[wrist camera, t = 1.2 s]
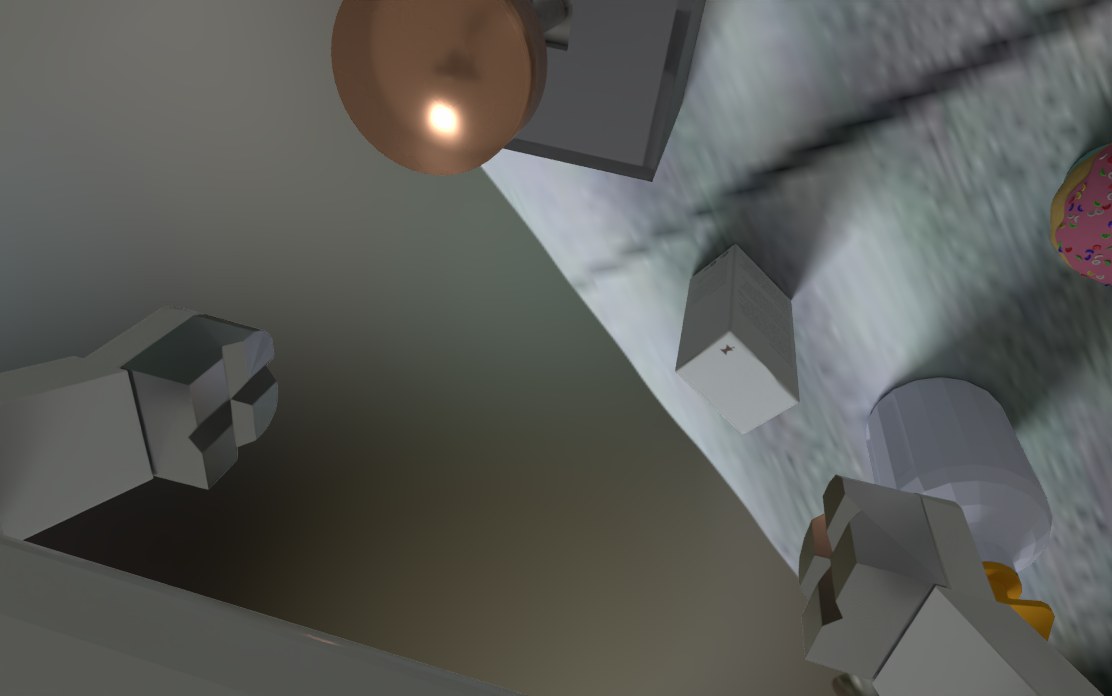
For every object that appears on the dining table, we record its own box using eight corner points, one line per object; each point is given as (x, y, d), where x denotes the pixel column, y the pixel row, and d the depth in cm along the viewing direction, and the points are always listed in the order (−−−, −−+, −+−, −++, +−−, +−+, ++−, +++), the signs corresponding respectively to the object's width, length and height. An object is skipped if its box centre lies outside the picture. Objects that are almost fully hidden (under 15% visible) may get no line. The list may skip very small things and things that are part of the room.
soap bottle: (1013, 373, 48) (1203, 716, 27) (993, 477, 52) (1143, 839, 32) (869, 373, 50) (945, 688, 30) (861, 473, 55) (923, 805, 34)
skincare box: (687, 278, 50) (670, 370, 40) (735, 240, 48) (730, 327, 38) (745, 336, 51) (742, 439, 41) (794, 302, 49) (803, 402, 39)
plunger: (462, -137, 30) (249, -170, 17) (688, -98, 29) (634, -103, 16) (448, 96, 35) (277, 200, 22) (638, 137, 34) (569, 271, 21)
